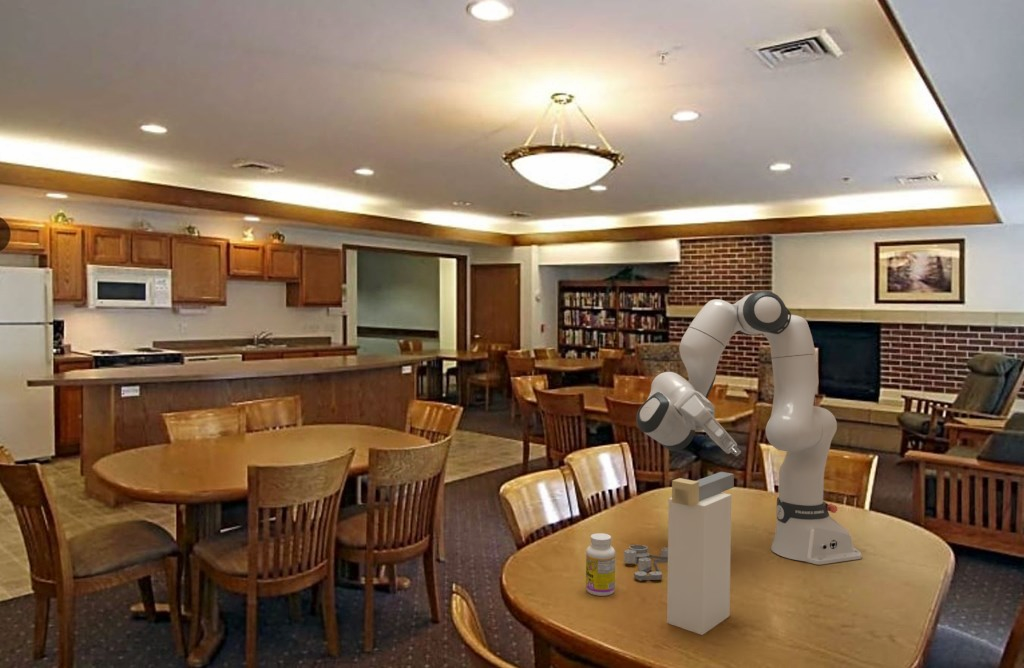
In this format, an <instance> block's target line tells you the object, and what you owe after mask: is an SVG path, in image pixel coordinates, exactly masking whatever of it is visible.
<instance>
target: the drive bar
mask: <svg viewBox="0 0 1024 668" xmlns="http://www.w3.org/2000/svg"><path fill="white" fill-rule="evenodd" d="M734 479H735V474H734V473H729V472H724V471H718V472H716V473H713V474H711V475H708V476H705V477H703V478H699V479H696V480H691V479H688V478H687V479H686V478H682V477H681V478H680V477H678V478H675V479H673V480H671V498H672V502H673V503H678V504H683V505H687V506H694V505H696V504H699V501H701V500H704V499H706V498H709V497H711V496H714V495H716V494H719V493H725V492H726V491H728V490H730V489H731V490H732V489H733V488H734V487H735V485H734V483H735V482H734V481H735V480H734Z"/></svg>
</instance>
